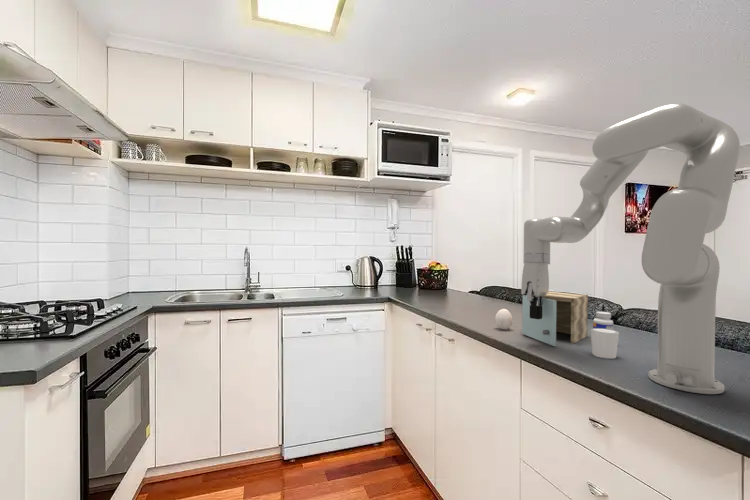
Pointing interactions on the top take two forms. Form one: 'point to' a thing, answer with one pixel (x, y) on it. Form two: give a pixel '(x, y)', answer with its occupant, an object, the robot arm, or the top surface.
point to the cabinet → (571, 314)
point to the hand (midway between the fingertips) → (535, 318)
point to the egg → (503, 319)
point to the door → (540, 322)
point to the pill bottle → (603, 321)
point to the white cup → (604, 342)
